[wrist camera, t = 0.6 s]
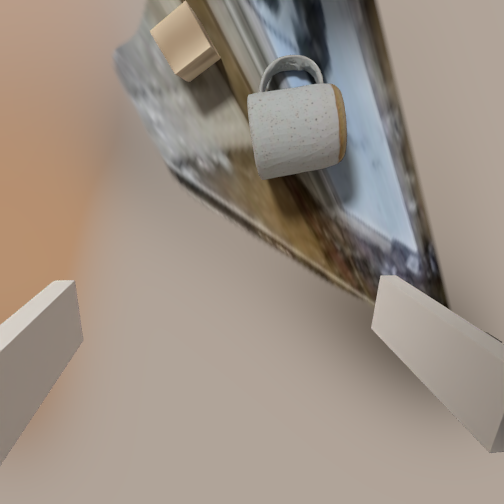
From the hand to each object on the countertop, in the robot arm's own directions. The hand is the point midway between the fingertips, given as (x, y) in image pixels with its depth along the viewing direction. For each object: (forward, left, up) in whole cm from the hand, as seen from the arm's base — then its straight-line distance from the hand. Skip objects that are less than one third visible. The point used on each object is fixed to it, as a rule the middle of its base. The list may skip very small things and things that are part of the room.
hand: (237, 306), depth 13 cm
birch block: (-17, -5, -23) cm, 29 cm away
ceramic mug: (-9, +3, -23) cm, 25 cm away
